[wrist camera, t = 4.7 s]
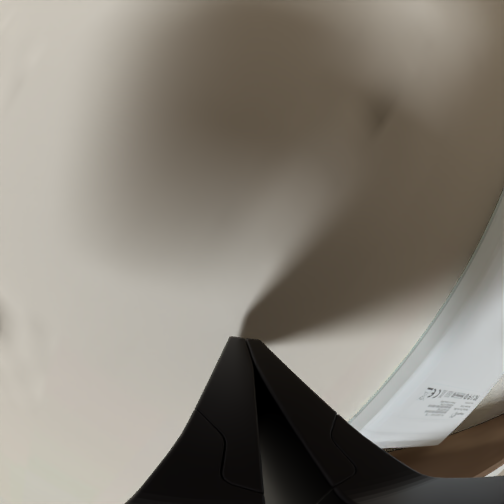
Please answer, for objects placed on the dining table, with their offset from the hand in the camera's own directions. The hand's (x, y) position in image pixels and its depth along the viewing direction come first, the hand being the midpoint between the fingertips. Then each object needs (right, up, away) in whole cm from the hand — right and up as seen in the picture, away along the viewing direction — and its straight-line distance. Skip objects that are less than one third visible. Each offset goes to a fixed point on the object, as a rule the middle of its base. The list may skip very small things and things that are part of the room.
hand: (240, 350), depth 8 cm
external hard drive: (+10, -1, +3) cm, 11 cm away
